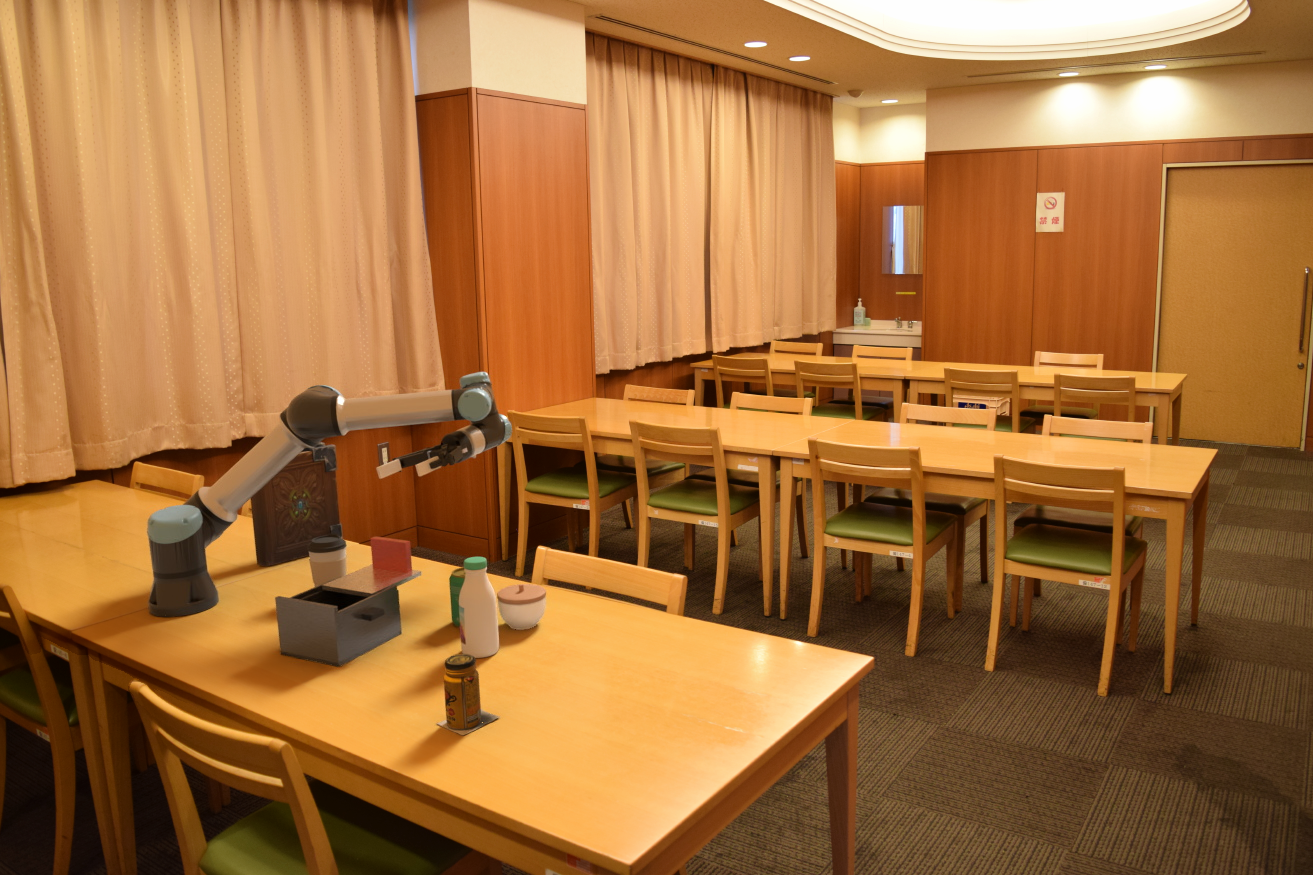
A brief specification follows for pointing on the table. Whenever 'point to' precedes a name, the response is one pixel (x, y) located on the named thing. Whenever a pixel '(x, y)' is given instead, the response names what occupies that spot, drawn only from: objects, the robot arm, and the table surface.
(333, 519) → the decorative book
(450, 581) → the beverage can
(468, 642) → the milk bottle
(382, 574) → the lid
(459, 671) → the condiment
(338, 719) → the table surface
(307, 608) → the gray drawer chest
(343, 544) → the coffee cup
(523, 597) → the lidded jar
